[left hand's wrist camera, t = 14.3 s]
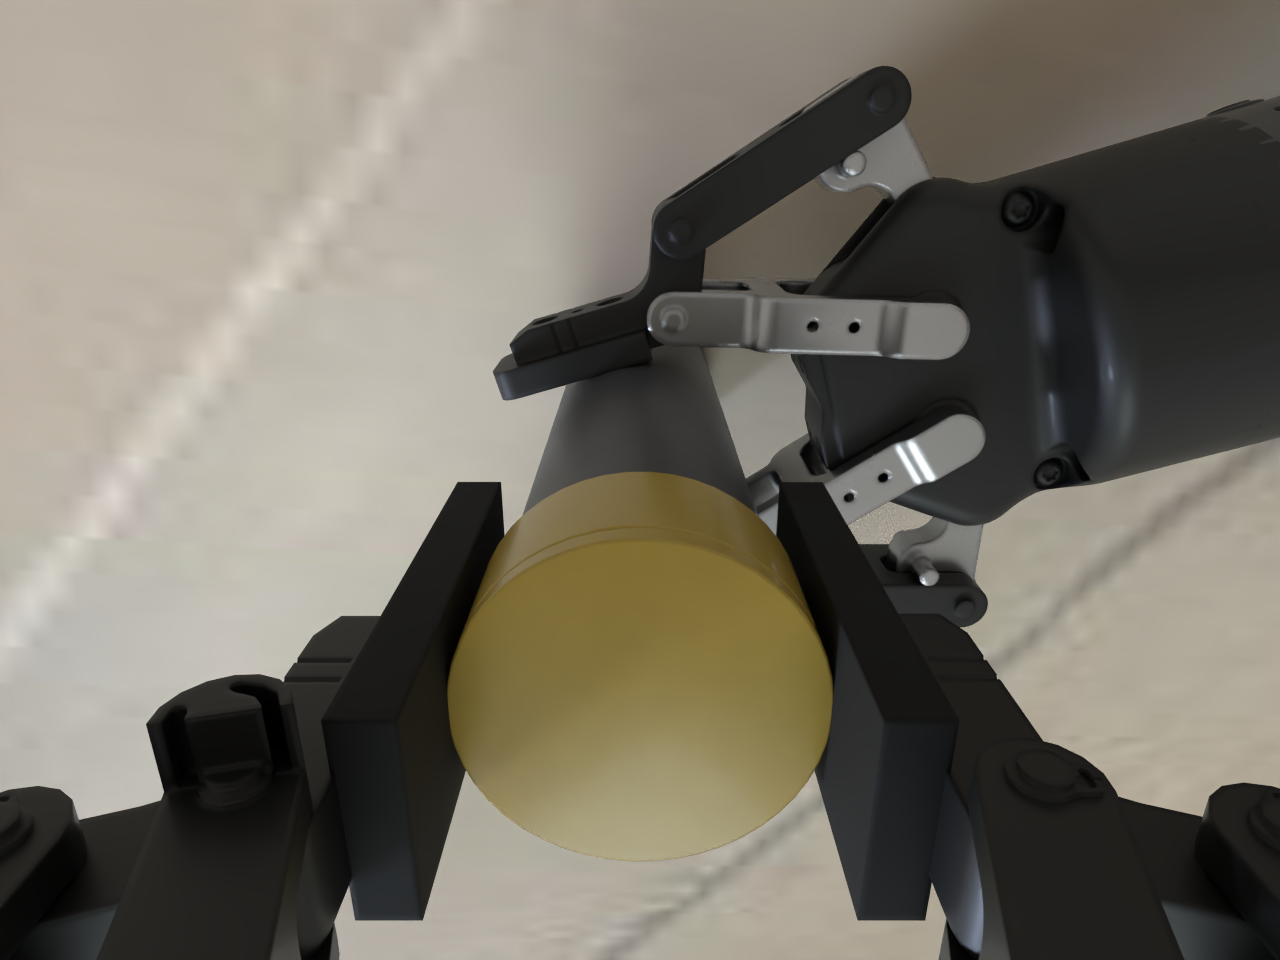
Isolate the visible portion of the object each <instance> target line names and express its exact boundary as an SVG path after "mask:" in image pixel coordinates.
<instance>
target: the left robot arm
mask: <svg viewBox="0 0 1280 960" xmlns="http://www.w3.org/2000/svg"><path fill="white" fill-rule="evenodd" d="M503 537H504V522H503V507H502V492H501V482H458V483H457V484H456V486H455V488H454V490H453V491H452V493H451V495H450V496H449V498H448V500H447V502H446V503H445V505H444V507H443V509H442V510H441V512H440V514H439V516H438V517H437V519H436V521H435V523H434V524H433V526H432V528H431V530H430V531H429V533H428V535H427V536H426V538H425V540H424V542H423V543H422V545H421V547H420V549H419V550H418V552H417V554H416V556H415V557H414V559H413V561H412V563H411V564H410V566H409V568H408V570H407V571H406V573H405V575H404V577H403V578H402V580H401V582H400V583H399V585H398V587H397V589H396V590H395V592H394V594H393V596H392V597H391V599H390V601H389V603H388V604H387V606H386V608H385V610H384V611H383V613H382V615H381V616H341V617H339V618H338V619H337V620H335V621H334V622H332V623H331V624H329V625H328V626H326V627H325V628H324V629H322V630H321V631H319V632H318V633H316V634H315V635H314V636H313V637H312V638H311V640H310V641H309V643H308V644H307V646H306V647H305V648H304V650H303V651H302V653H301V654H300V656H299V657H298V661H297V663H294V664H293V666H292V667H291V669H290V670H289V671H288V673H287V674H286V676H285V677H284V678H285V680H284V682H282V681H281V680H280V679H276V678H272V677H268V676H264V675H260V674H256V675H233V676H229V677H224V678H220V679H216V680H211V681H207V682H205V683H202V684H200V685H198V686H195V687H193V688H191V689H188V690H186V691H184V692H181V693H180V694H178V695H177V696H175V697H174V698H172V699H171V700H170V701H168V702H167V703H165V704H164V705H162V706H161V707H159V709H158V710H157V711H156V712H155V714H154V715H153V716H152V717H151V719H150V720H149V721H148V722H147V724H146V726H147V729H148V733H149V737H150V741H151V744H152V748H153V752H154V756H155V759H156V763H157V767H158V770H159V774H160V778H161V782H162V785H163V789H164V794H163V797H162V799H161V801H158V802H154V803H151V804H147V805H144V806H140V807H136V808H131V809H127V810H122V811H118V812H113V813H109V814H104V815H100V816H95V817H91V818H86V819H82V820H79V819H78V816H77V813H76V810H75V807H74V804H73V800H72V799H71V798H70V797H68V796H67V795H66V794H65V793H64V792H62V791H61V790H60V789H54V788H47V787H41V786H35V787H27V788H19V789H12V790H7V791H4V792H1V793H0V960H339V947H338V940H337V934H336V928H335V923H334V921H335V918H336V916H337V913H338V911H339V908H340V906H341V903H342V901H343V899H344V896H345V894H346V891H347V889H348V886H350V892H351V898H352V904H353V910H354V915H355V920H423V917H424V914H425V911H426V907H427V904H428V900H429V897H430V893H431V890H432V886H433V883H434V879H435V876H436V872H437V869H438V865H439V862H440V858H441V855H442V851H443V848H444V844H445V841H446V838H447V834H448V831H449V827H450V824H451V820H452V817H453V813H454V810H455V806H456V803H457V799H458V796H459V792H460V789H461V785H462V782H463V778H464V775H465V771H466V769H465V768H464V766H463V764H462V762H461V760H460V757H459V755H458V753H457V751H456V748H455V746H454V742H453V739H452V735H451V728H450V719H449V710H448V699H447V680H448V675H449V670H450V666H451V661H452V658H453V656H454V653H455V650H456V648H457V645H458V642H459V640H460V637H461V634H462V632H463V629H464V626H465V624H466V621H467V619H468V616H469V613H470V611H471V608H472V605H473V603H474V600H475V598H476V595H477V592H478V590H479V587H480V584H481V582H482V579H483V577H484V574H485V571H486V569H487V566H488V563H489V561H490V559H491V557H492V555H493V553H494V551H495V550H496V548H497V546H498V544H499V543H500V541H501V540H502V539H503ZM776 537H777V538H778V539H779V540H780V542H781V544H782V546H783V547H784V549H785V551H786V552H787V554H788V556H789V558H790V560H791V563H792V565H793V568H794V570H795V573H796V575H797V578H798V580H799V583H800V586H801V588H802V591H803V594H804V596H805V599H806V601H807V604H808V607H809V609H810V612H811V615H812V617H813V620H814V622H815V625H816V628H817V630H818V633H819V635H820V638H821V641H822V643H823V646H824V649H825V651H826V654H827V656H828V660H829V664H830V669H831V673H832V677H833V705H832V714H831V724H830V732H829V737H828V741H827V744H826V747H825V749H824V751H823V754H822V756H821V759H820V761H819V763H818V765H817V766H816V768H815V773H816V777H817V780H818V784H819V787H820V791H821V794H822V798H823V801H824V805H825V808H826V812H827V815H828V819H829V822H830V826H831V829H832V832H833V836H834V839H835V843H836V846H837V850H838V853H839V857H840V860H841V864H842V867H843V871H844V874H845V878H846V881H847V885H848V888H849V892H850V895H851V898H852V902H853V905H854V909H855V912H856V916H857V919H858V920H925V918H926V912H927V907H928V901H929V895H930V889H931V883H933V886H934V888H935V891H936V893H937V896H938V898H939V901H940V903H941V906H942V908H943V910H944V913H945V915H946V923H945V928H944V934H943V939H942V945H941V950H940V955H939V960H1280V789H1279V788H1276V787H1273V786H1266V785H1258V784H1250V783H1238V784H1232V785H1225V786H1221V787H1220V788H1219V789H1218V790H1216V791H1215V792H1214V793H1213V794H1212V795H1210V796H1209V799H1208V802H1207V805H1206V809H1205V812H1204V815H1203V817H1201V816H1196V815H1192V814H1187V813H1183V812H1178V811H1174V810H1169V809H1165V808H1160V807H1156V806H1151V805H1146V804H1142V803H1138V802H1135V801H1131V800H1128V799H1124V798H1121V797H1118V795H1117V793H1116V791H1115V789H1114V788H1113V786H1112V785H1111V784H1110V782H1109V781H1108V779H1107V778H1106V776H1105V775H1104V773H1102V772H1101V771H1100V770H1099V769H1097V768H1096V767H1095V766H1093V765H1092V764H1091V763H1090V762H1088V761H1087V760H1086V759H1085V758H1083V757H1081V756H1079V755H1077V754H1075V753H1073V752H1071V751H1069V750H1067V749H1065V748H1063V747H1061V746H1059V745H1055V744H1052V743H1048V742H1044V741H1043V740H1042V739H1041V737H1040V736H1039V735H1038V733H1037V732H1036V730H1035V729H1034V727H1033V726H1032V724H1031V723H1030V722H1029V720H1028V719H1027V717H1026V716H1025V714H1024V713H1023V712H1022V710H1021V709H1020V707H1019V706H1018V704H1017V703H1016V702H1015V700H1014V699H1013V697H1012V696H1011V694H1010V693H1009V692H1008V690H1007V689H1006V687H1005V686H1004V684H1003V683H1002V682H1001V680H1000V679H997V677H996V676H997V674H996V673H995V672H994V670H993V669H992V667H991V666H990V664H989V663H988V662H987V660H984V659H983V654H982V653H981V652H980V650H979V649H978V647H977V646H976V644H975V643H974V642H973V640H972V639H971V637H970V636H969V634H968V633H967V632H965V631H964V630H962V629H961V628H960V627H958V626H957V625H955V624H954V623H952V622H951V621H949V620H948V619H947V618H945V617H944V616H942V615H941V614H898V612H897V610H896V609H895V607H894V605H893V603H892V602H891V600H890V598H889V597H888V595H887V593H886V591H885V590H884V588H883V586H882V584H881V583H880V581H879V579H878V577H877V576H876V574H875V572H874V570H873V569H872V567H871V565H870V563H869V562H868V560H867V558H866V557H865V555H864V553H863V551H862V550H861V548H860V546H859V544H858V543H857V541H856V539H855V537H854V536H853V534H852V532H851V530H850V529H849V527H848V525H847V523H846V522H845V520H844V518H843V517H842V515H841V513H840V511H839V510H838V508H837V506H836V504H835V503H834V501H833V499H832V497H831V496H830V494H829V492H828V490H827V489H826V487H825V485H824V483H823V482H780V484H779V499H778V514H777V529H776Z"/></svg>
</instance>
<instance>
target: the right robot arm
mask: <svg viewBox="0 0 1280 960" xmlns="http://www.w3.org/2000/svg"><path fill="white" fill-rule="evenodd" d="M910 103H911V88H910V84H909V82H908V80H907V78H906V77H905V75H904V74H903V73H902V72H901V71H899V70H898V69H896V68H893V67H889V66H880V67H876V68H873V69H871V70H868V71H866V72H864V73H861V74H859V75H856V76H854V77H852V78H849V79H847V80H844V81H843V82H841V83H839V84H838V85H836V86H835V87H833V88H832V89H830V90H829V91H827V92H826V93H824V94H823V95H821V96H820V97H818V98H817V99H815V100H814V101H812V102H811V103H809V104H808V105H806V106H805V107H803V108H802V109H800V110H799V111H797V112H796V113H794V114H793V115H791V116H790V117H788V118H787V119H785V120H784V121H782V122H781V123H779V124H778V125H776V126H775V127H773V128H772V129H770V130H769V131H767V132H766V133H764V134H763V135H761V136H760V137H758V138H757V139H755V140H754V141H752V142H751V143H749V144H748V145H746V146H745V147H743V148H742V149H740V150H739V151H737V152H736V153H734V154H733V155H731V156H730V157H728V158H727V159H725V160H724V161H722V162H721V163H719V164H718V165H716V166H715V167H713V168H712V169H710V170H709V171H707V172H706V173H704V174H703V175H701V176H700V177H698V178H697V179H695V180H694V181H692V182H691V183H689V184H688V185H686V186H685V187H683V188H682V189H680V190H679V191H677V192H676V193H674V194H673V195H671V196H670V197H668V198H667V199H665V200H664V201H662V202H661V203H660V204H659V205H658V206H657V207H656V209H655V211H654V213H653V216H652V229H651V244H650V258H649V267H648V271H647V274H646V276H645V278H644V279H643V281H642V282H641V283H640V284H639V285H638V286H637V287H636V288H635V289H633V290H631V291H629V292H626V293H623V294H620V295H616V296H613V297H610V298H606V299H603V300H599V301H596V302H593V303H589V304H586V305H582V306H579V307H575V308H573V309H569V310H565V311H562V312H559V313H556V314H552V315H548V316H545V317H541V318H538V319H535V320H533V321H532V322H531V323H530V324H528V325H527V326H526V327H525V328H524V329H522V330H521V331H520V332H519V333H518V334H517V335H516V336H515V338H514V339H513V341H512V342H511V343H510V347H511V350H512V354H510V355H508V356H506V357H504V358H503V359H501V361H500V362H499V364H498V365H497V366H496V368H495V369H494V371H493V374H494V376H495V379H496V382H497V385H498V387H499V390H500V393H501V396H502V398H503V400H513V399H518V398H521V397H525V396H528V395H532V394H535V393H539V392H542V391H546V390H550V389H553V388H557V387H560V386H564V385H567V384H571V383H574V382H578V381H581V380H585V379H588V378H592V377H595V376H599V375H602V374H605V373H608V372H611V371H615V370H619V369H624V368H627V367H631V366H634V365H638V364H641V363H645V362H648V361H652V360H653V354H652V348H656V347H659V346H663V345H668V346H687V347H729V348H747V349H751V350H754V351H758V352H764V353H782V354H791V358H792V361H793V362H794V364H795V366H796V368H797V370H798V372H799V373H800V375H801V377H802V379H803V381H804V383H805V385H806V402H805V420H806V425H807V429H808V434H806V435H804V436H803V437H801V438H799V439H798V440H796V441H795V442H793V443H791V444H790V445H788V446H786V447H785V448H783V449H781V450H780V451H779V452H778V453H776V454H775V455H774V457H773V458H772V460H771V462H770V463H769V464H768V465H767V466H766V467H764V468H763V469H761V470H760V471H758V472H756V473H755V474H753V475H751V476H750V477H748V478H746V482H747V485H748V488H749V491H750V494H751V497H752V500H753V503H754V506H755V509H756V512H757V515H758V517H759V518H761V519H762V520H763V521H764V522H765V523H766V524H767V525H768V527H769V528H770V529H771V530H772V532H773V533H774V534H775V535H776V529H777V514H778V499H779V484H780V482H823V483H824V485H825V487H826V489H827V490H828V492H829V494H830V496H831V497H832V499H833V501H834V503H835V504H836V506H837V508H838V510H839V511H840V513H841V515H842V517H843V518H844V520H845V522H846V523H847V525H849V524H850V523H852V522H854V521H856V520H857V519H859V518H861V517H863V516H864V515H866V514H868V513H870V512H871V511H873V510H875V509H877V508H878V507H880V506H882V505H884V504H885V503H887V502H889V501H890V502H892V503H895V504H898V505H901V506H904V507H907V508H910V509H913V510H916V511H919V512H921V513H924V514H927V515H930V516H933V517H932V519H931V520H930V521H929V522H928V523H927V524H925V525H924V526H922V527H920V528H917V529H912V530H906V531H899V532H897V533H896V534H895V535H894V537H893V539H892V540H891V542H890V543H889V544H859V546H860V548H861V550H862V551H863V553H864V555H865V557H866V558H867V560H868V562H869V563H870V565H871V567H872V569H873V570H874V572H875V574H876V576H877V577H878V579H879V581H880V583H881V584H882V586H883V588H884V590H885V591H886V593H887V595H888V597H889V598H890V600H891V602H892V603H893V605H894V607H895V609H896V610H897V612H898V614H941V615H942V616H944V617H945V618H947V619H948V620H949V621H951V622H952V623H954V624H955V625H957V626H958V627H966V626H970V625H973V624H974V623H976V622H978V621H979V620H980V619H981V618H982V617H983V616H984V614H985V612H986V610H987V606H988V601H987V597H986V595H985V594H984V592H983V591H982V590H981V589H980V588H979V586H978V585H977V584H976V581H975V578H974V576H975V570H976V564H977V558H978V552H979V546H980V540H981V534H982V529H983V524H985V523H989V522H991V521H993V520H995V519H997V518H999V517H1000V516H1002V515H1003V514H1004V513H1006V512H1007V511H1008V510H1009V509H1010V508H1012V507H1013V506H1014V505H1016V504H1017V503H1018V502H1020V501H1021V500H1023V499H1025V498H1026V497H1028V496H1030V495H1032V494H1034V493H1036V492H1039V491H1043V490H1047V489H1054V488H1063V487H1073V486H1084V485H1091V484H1097V483H1102V482H1106V481H1110V480H1114V479H1118V478H1122V477H1126V476H1130V475H1134V474H1138V473H1142V472H1145V471H1149V470H1153V469H1157V468H1161V467H1165V466H1169V465H1173V464H1177V463H1181V462H1185V461H1189V460H1193V459H1197V458H1200V457H1204V456H1208V455H1212V454H1216V453H1220V452H1224V451H1228V450H1232V449H1236V448H1240V447H1244V446H1248V445H1252V444H1256V443H1260V442H1263V441H1267V440H1271V439H1275V438H1279V437H1280V96H1277V97H1274V98H1270V99H1267V100H1264V99H1259V100H1253V101H1250V100H1246V101H1242V102H1238V103H1235V104H1232V105H1229V106H1226V107H1223V108H1221V109H1218V110H1216V111H1213V112H1211V113H1209V114H1208V115H1207V116H1206V117H1204V118H1202V119H1199V120H1196V121H1192V122H1189V123H1185V124H1182V125H1179V126H1175V127H1172V128H1168V129H1165V130H1162V131H1158V132H1155V133H1152V134H1148V135H1145V136H1141V137H1138V138H1134V139H1131V140H1128V141H1124V142H1121V143H1117V144H1114V145H1111V146H1107V147H1104V148H1100V149H1097V150H1094V151H1090V152H1087V153H1084V154H1080V155H1077V156H1073V157H1070V158H1067V159H1063V160H1060V161H1056V162H1053V163H1050V164H1046V165H1043V166H1039V167H1036V168H1033V169H1029V170H1026V171H1023V172H1019V173H1016V174H1012V175H1009V176H1006V177H1002V178H999V179H995V180H992V181H988V182H982V183H974V184H971V183H966V182H962V181H959V180H956V179H951V178H934V177H932V175H931V173H930V171H929V169H928V166H927V164H926V162H925V160H924V158H923V156H922V154H921V152H920V150H919V147H918V145H917V143H916V141H915V139H914V137H913V135H912V133H911V130H910V128H909V126H908V124H907V122H906V120H905V118H904V117H905V115H906V114H907V112H908V110H909V107H910ZM812 179H814V180H815V181H816V183H817V184H818V185H819V186H820V187H822V188H823V189H825V190H828V191H833V192H841V193H848V192H852V191H855V190H857V189H859V188H862V187H865V186H871V187H873V188H875V189H876V190H877V191H878V192H879V193H880V194H881V195H882V197H883V200H882V201H881V202H880V203H879V204H878V206H877V207H876V208H875V209H874V210H873V212H872V213H871V214H870V215H869V216H868V218H867V219H866V220H865V221H864V222H863V223H862V225H861V226H860V227H859V228H858V229H857V231H856V232H855V233H854V234H853V235H852V237H851V238H850V239H849V240H848V241H847V243H846V244H845V245H844V246H843V247H842V248H841V250H840V251H839V252H838V253H837V254H836V256H835V257H834V258H833V259H832V260H831V262H830V263H829V264H828V265H827V266H826V267H825V269H824V270H823V271H822V272H821V273H820V275H819V276H818V277H817V278H816V279H798V278H758V277H752V278H742V279H703V271H704V261H705V250H706V248H707V247H708V246H710V245H712V244H713V243H715V242H716V241H718V240H719V239H721V238H722V237H724V236H725V235H727V234H729V233H730V232H732V231H733V230H735V229H736V228H738V227H739V226H741V225H743V224H744V223H746V222H747V221H749V220H750V219H752V218H753V217H755V216H756V215H758V214H760V213H761V212H763V211H764V210H766V209H767V208H769V207H770V206H772V205H774V204H775V203H777V202H778V201H780V200H781V199H783V198H784V197H786V196H787V195H789V194H791V193H792V192H794V191H795V190H797V189H798V188H800V187H801V186H803V185H805V184H806V183H808V182H809V181H811V180H812Z"/></svg>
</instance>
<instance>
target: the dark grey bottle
mask: <svg viewBox="0 0 1280 960" xmlns="http://www.w3.org/2000/svg"><path fill="white" fill-rule="evenodd" d="M652 354H653V360H652V361H648V362H645V363H641V364H638V365H634V366H631V367H627V368H624V369H619V370H615V371H611V372H608V373H605V374H602V375H599V376H595V377H592V378H588V379H585V380H581V381H578V382H574V383H571V384H567V385H566V388H565V391H564V394H563V397H562V400H561V403H560V406H559V409H558V412H557V414H556V417H555V420H554V423H553V426H552V429H551V432H550V435H549V438H548V441H547V444H546V447H545V450H544V453H543V456H542V459H541V462H540V465H539V468H538V471H537V474H536V477H535V480H534V483H533V486H532V489H531V492H530V495H529V498H528V501H527V504H526V507H525V510H524V513H523V515H524V514H525V513H526V512H527V511H529V510H530V509H531V508H533V507H534V506H535V505H537V504H538V503H539V502H541V501H542V500H543V499H545V498H547V497H549V496H550V495H552V494H554V493H556V492H558V491H559V490H561V489H563V488H566V487H568V486H571V485H573V484H576V483H578V482H581V481H583V480H587V479H591V478H595V477H599V476H602V475H608V474H615V473H623V472H657V473H666V474H673V475H677V476H682V477H686V478H690V479H694V480H697V481H699V482H702V483H705V484H707V485H710V486H713V487H715V488H717V489H719V490H721V491H723V492H725V493H726V494H728V495H730V496H732V497H734V498H735V499H737V500H738V501H740V502H741V503H742V504H744V505H745V506H747V507H748V508H749V509H751V510H752V511H753V512H754V513H755V514H756V515H757V512H756V509H755V506H754V503H753V500H752V497H751V494H750V491H749V488H748V485H747V482H746V479H745V476H744V473H743V470H742V467H741V464H740V461H739V458H738V455H737V452H736V449H735V446H734V443H733V440H732V437H731V434H730V431H729V428H728V425H727V423H726V420H725V417H724V414H723V411H722V408H721V405H720V402H719V399H718V396H717V393H716V390H715V387H714V384H713V381H712V378H711V375H710V372H709V369H708V366H707V363H706V360H705V357H704V355H703V352H702V350H701V348H700V347H687V346H668V345H663V346H659V347H656V348H652ZM757 516H758V515H757Z"/></svg>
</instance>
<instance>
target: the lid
mask: <svg viewBox="0 0 1280 960" xmlns="http://www.w3.org/2000/svg"><path fill="white" fill-rule="evenodd" d="M447 699H448V710H449V719H450V728H451V735H452V739H453V742H454V746H455V748H456V751H457V753H458V755H459V757H460V760H461V762H462V764H463V766H464V768H465V769H466V771H467V772H468V774H469V776H470V777H471V779H472V780H473V782H474V784H475V785H476V786H477V787H478V788H479V790H480V791H481V792H482V793H483V794H484V796H485V797H486V798H487V799H488V800H489V801H490V802H491V803H492V804H493V805H494V806H495V807H496V808H497V809H498V810H499V811H501V812H502V813H503V814H504V815H505V816H506V817H508V818H509V819H511V820H512V821H513V822H515V823H516V824H517V825H519V826H520V827H522V828H523V829H525V830H527V831H529V832H530V833H532V834H534V835H536V836H537V837H539V838H541V839H543V840H546V841H548V842H550V843H553V844H555V845H557V846H560V847H562V848H565V849H568V850H572V851H575V852H578V853H581V854H585V855H590V856H595V857H600V858H605V859H614V860H624V861H657V860H666V859H676V858H681V857H686V856H690V855H695V854H700V853H703V852H706V851H709V850H712V849H715V848H718V847H721V846H723V845H726V844H728V843H730V842H732V841H735V840H737V839H739V838H741V837H743V836H745V835H747V834H748V833H750V832H752V831H754V830H755V829H757V828H759V827H760V826H762V825H763V824H765V823H766V822H767V821H769V820H770V819H771V818H772V817H774V816H775V815H776V814H778V813H779V812H780V811H781V810H782V809H783V808H784V807H785V806H786V805H787V804H788V803H789V802H790V801H792V800H793V799H794V798H795V796H796V795H797V794H798V793H799V791H800V790H801V789H802V788H803V786H804V785H805V784H806V783H807V781H808V780H809V778H810V777H811V775H812V773H813V771H814V770H815V768H816V766H817V765H818V763H819V761H820V759H821V756H822V754H823V751H824V749H825V747H826V744H827V741H828V737H829V732H830V724H831V714H832V705H833V677H832V673H831V669H830V664H829V660H828V656H827V654H826V651H825V649H824V646H823V643H822V641H821V638H820V635H819V633H818V630H817V628H816V625H815V622H814V620H813V617H812V615H811V612H810V609H809V607H808V604H807V601H806V599H805V596H804V594H803V591H802V588H801V586H800V583H799V580H798V578H797V575H796V573H795V570H794V568H793V565H792V563H791V560H790V558H789V556H788V554H787V552H786V551H785V549H784V547H783V546H782V544H781V542H780V540H779V539H778V538H777V537H776V535H775V534H774V533H773V532H772V530H771V529H770V528H769V527H768V525H767V524H766V523H765V522H764V521H763V520H762V519H761V518H759V517H758V516H757V515H756V514H755V513H754V512H753V511H752V510H751V509H749V508H748V507H747V506H745V505H744V504H742V503H741V502H740V501H738V500H737V499H735V498H734V497H732V496H730V495H728V494H726V493H725V492H723V491H721V490H719V489H717V488H715V487H713V486H710V485H707V484H705V483H702V482H699V481H697V480H694V479H690V478H686V477H682V476H677V475H673V474H666V473H657V472H623V473H615V474H608V475H602V476H599V477H595V478H591V479H587V480H583V481H581V482H578V483H576V484H573V485H571V486H568V487H566V488H563V489H561V490H559V491H558V492H556V493H554V494H552V495H550V496H549V497H547V498H545V499H543V500H542V501H541V502H539V503H538V504H537V505H535V506H534V507H533V508H531V509H530V510H529V511H527V512H526V513H525V514H524V515H523V516H522V517H521V518H520V519H519V520H518V521H517V522H516V523H515V524H514V525H513V526H512V527H511V528H510V529H509V531H508V532H507V533H506V535H505V536H504V537H503V539H502V540H501V541H500V543H499V544H498V546H497V548H496V550H495V551H494V553H493V555H492V557H491V559H490V561H489V563H488V566H487V569H486V571H485V574H484V577H483V579H482V582H481V584H480V587H479V590H478V592H477V595H476V598H475V600H474V603H473V605H472V608H471V611H470V613H469V616H468V619H467V621H466V624H465V626H464V629H463V632H462V634H461V637H460V640H459V642H458V645H457V648H456V650H455V653H454V656H453V658H452V661H451V666H450V670H449V675H448V680H447Z"/></svg>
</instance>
